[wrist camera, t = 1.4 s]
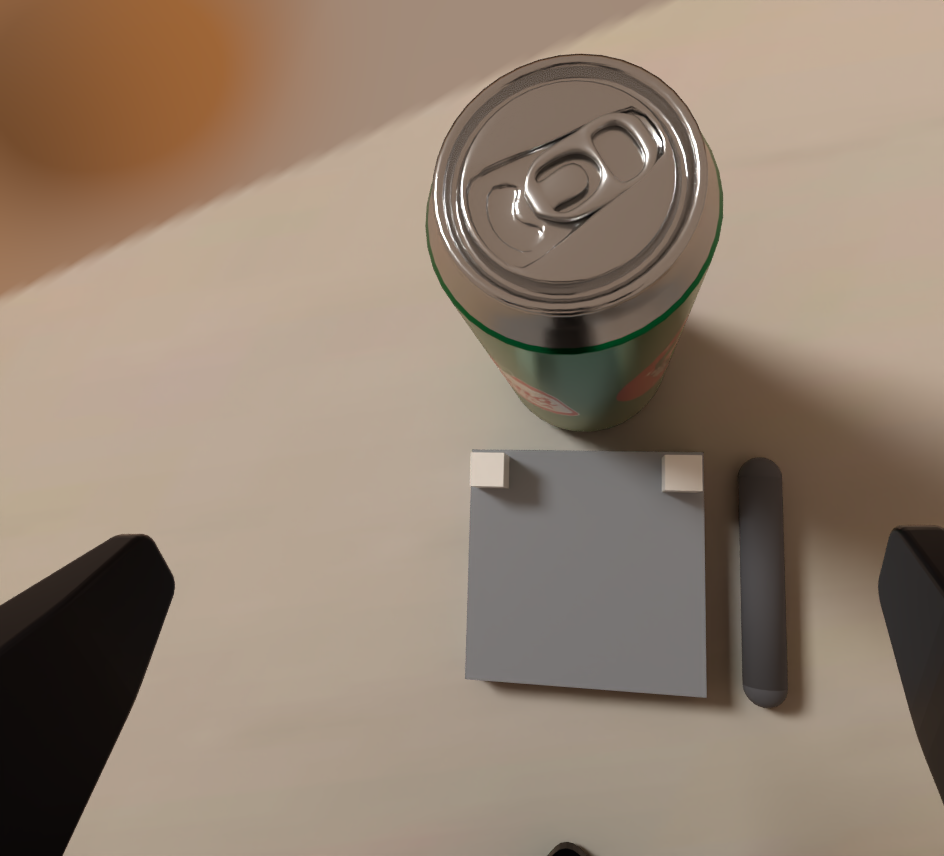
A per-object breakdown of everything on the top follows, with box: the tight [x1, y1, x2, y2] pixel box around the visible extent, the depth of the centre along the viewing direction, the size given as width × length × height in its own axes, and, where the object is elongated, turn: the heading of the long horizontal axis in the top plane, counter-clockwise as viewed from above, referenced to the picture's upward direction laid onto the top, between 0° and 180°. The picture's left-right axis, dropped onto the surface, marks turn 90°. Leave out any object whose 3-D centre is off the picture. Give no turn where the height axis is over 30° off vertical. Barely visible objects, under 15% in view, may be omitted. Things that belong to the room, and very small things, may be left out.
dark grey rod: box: [739, 458, 788, 708], centre depth 20 cm, size 7×1×1 cm, turn 178°
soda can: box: [426, 54, 723, 432], centre depth 16 cm, size 5×5×12 cm
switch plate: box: [465, 450, 707, 698], centre depth 20 cm, size 7×7×2 cm
